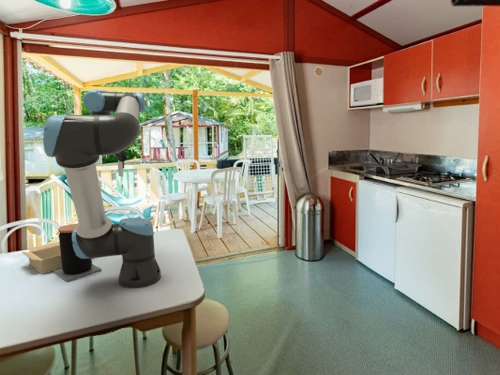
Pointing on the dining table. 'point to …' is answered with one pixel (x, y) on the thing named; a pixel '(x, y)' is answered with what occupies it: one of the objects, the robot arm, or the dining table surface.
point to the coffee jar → (71, 253)
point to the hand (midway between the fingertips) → (106, 177)
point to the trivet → (76, 276)
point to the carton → (45, 257)
